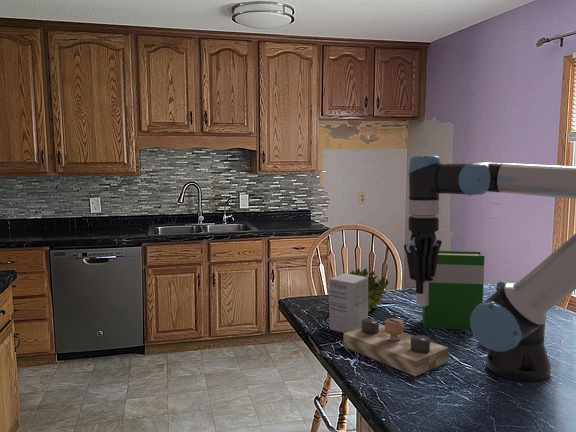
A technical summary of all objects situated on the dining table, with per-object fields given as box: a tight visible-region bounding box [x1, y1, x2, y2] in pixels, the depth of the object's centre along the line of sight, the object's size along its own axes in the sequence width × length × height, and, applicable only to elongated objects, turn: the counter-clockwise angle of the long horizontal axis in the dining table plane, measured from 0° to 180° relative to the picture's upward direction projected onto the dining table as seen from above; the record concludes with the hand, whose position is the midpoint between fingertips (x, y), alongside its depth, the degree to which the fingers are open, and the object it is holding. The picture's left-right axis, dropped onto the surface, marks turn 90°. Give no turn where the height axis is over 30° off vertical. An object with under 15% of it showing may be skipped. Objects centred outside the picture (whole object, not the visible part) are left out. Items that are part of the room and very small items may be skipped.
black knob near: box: [411, 334, 431, 353], centre depth 136 cm, size 5×5×7 cm
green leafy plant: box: [348, 267, 390, 313], centre depth 186 cm, size 18×16×16 cm
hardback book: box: [421, 249, 486, 331], centre depth 166 cm, size 18×7×24 cm, turn 80°
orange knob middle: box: [384, 317, 404, 343], centre depth 143 cm, size 5×5×7 cm
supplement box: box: [328, 272, 369, 334], centre depth 164 cm, size 10×9×17 cm
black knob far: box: [362, 318, 380, 334], centre depth 150 cm, size 5×5×7 cm
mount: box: [343, 323, 450, 377], centre depth 144 cm, size 26×14×4 cm, turn 38°
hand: (422, 304), depth 135 cm, fingers closed
